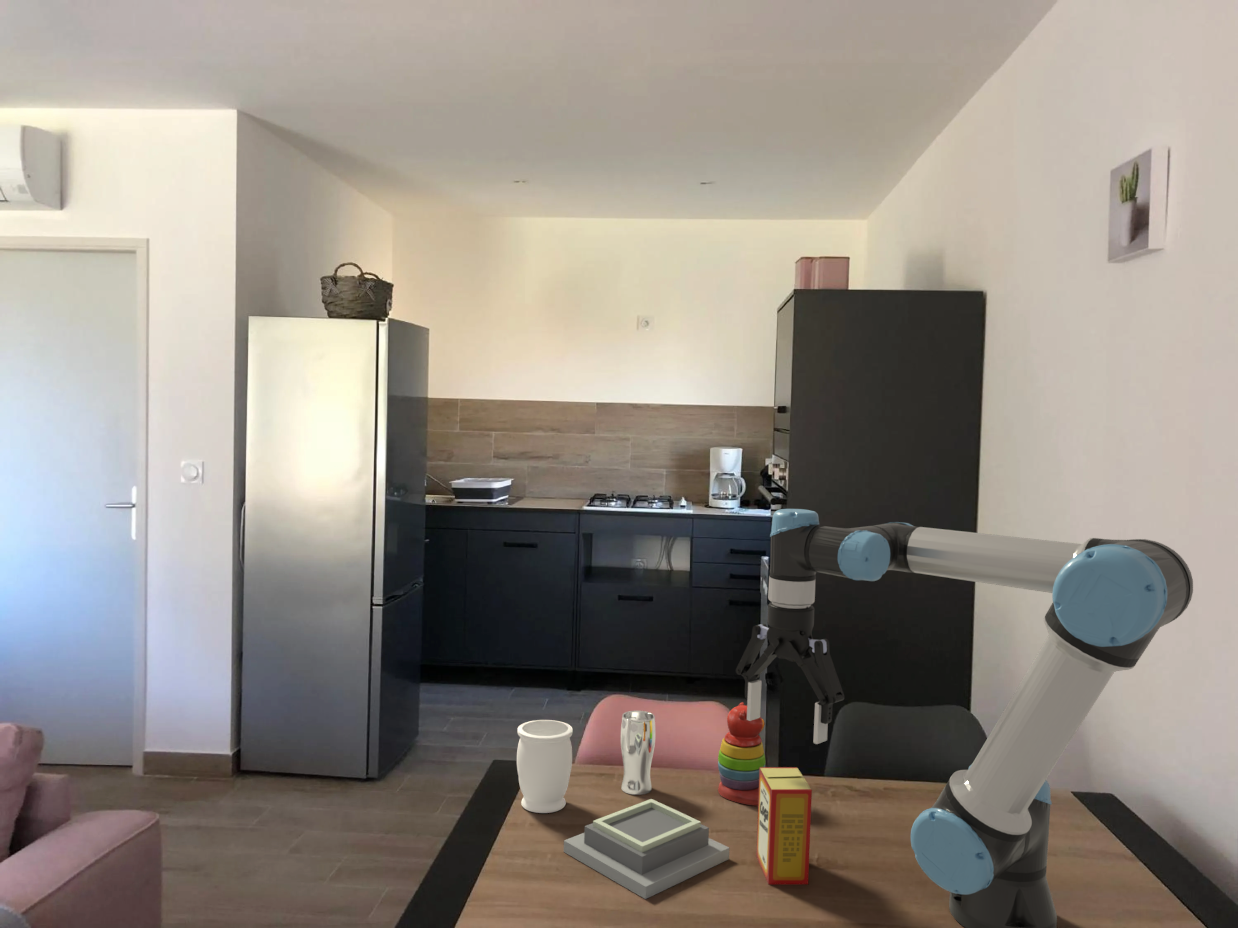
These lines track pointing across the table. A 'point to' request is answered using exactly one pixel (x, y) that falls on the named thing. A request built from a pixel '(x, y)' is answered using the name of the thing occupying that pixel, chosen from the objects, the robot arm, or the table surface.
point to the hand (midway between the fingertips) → (785, 729)
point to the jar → (544, 764)
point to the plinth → (647, 847)
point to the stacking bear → (741, 758)
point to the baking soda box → (783, 825)
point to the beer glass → (637, 751)
